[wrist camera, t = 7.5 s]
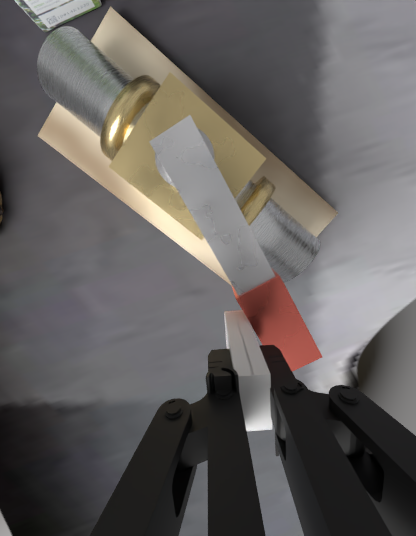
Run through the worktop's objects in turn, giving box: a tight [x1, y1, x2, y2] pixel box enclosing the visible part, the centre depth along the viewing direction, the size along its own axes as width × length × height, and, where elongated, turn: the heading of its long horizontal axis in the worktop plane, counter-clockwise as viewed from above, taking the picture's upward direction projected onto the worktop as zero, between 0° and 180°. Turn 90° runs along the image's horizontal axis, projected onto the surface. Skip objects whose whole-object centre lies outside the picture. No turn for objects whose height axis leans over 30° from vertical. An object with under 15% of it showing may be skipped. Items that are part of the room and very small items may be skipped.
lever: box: [149, 115, 322, 371], centre depth 15 cm, size 16×4×4 cm, turn 30°
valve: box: [37, 26, 320, 282], centre depth 20 cm, size 24×7×7 cm, turn 52°
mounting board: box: [38, 6, 338, 285], centre depth 23 cm, size 12×26×1 cm, turn 52°
